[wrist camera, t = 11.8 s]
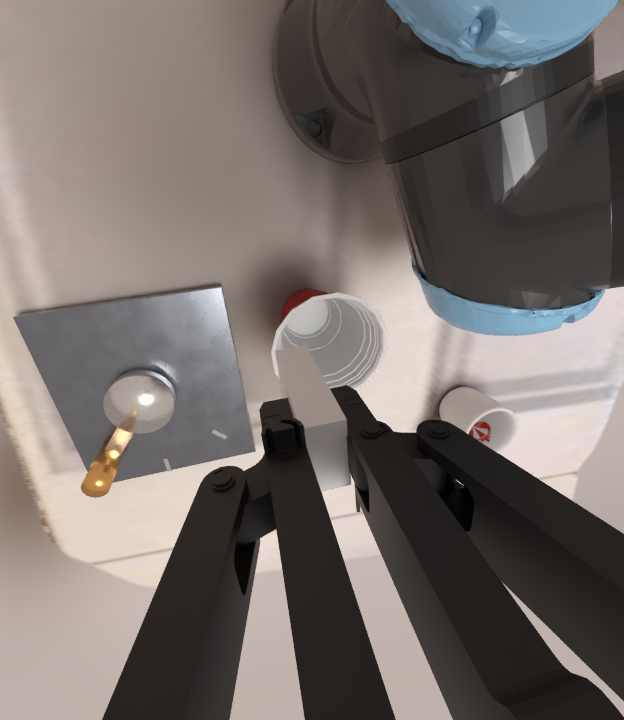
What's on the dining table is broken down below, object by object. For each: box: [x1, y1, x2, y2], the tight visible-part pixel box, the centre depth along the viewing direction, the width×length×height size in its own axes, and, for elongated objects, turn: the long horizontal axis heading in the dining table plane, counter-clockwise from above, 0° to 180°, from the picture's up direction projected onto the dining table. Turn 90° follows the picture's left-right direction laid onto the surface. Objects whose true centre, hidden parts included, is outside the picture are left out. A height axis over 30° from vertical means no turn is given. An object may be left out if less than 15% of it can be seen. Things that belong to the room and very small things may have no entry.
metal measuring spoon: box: [81, 370, 176, 497], centre depth 38 cm, size 13×7×6 cm, turn 146°
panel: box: [13, 285, 256, 483], centre depth 41 cm, size 22×20×2 cm
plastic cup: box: [271, 289, 387, 390], centre depth 36 cm, size 11×11×12 cm
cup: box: [439, 387, 518, 453], centre depth 49 cm, size 11×8×8 cm
